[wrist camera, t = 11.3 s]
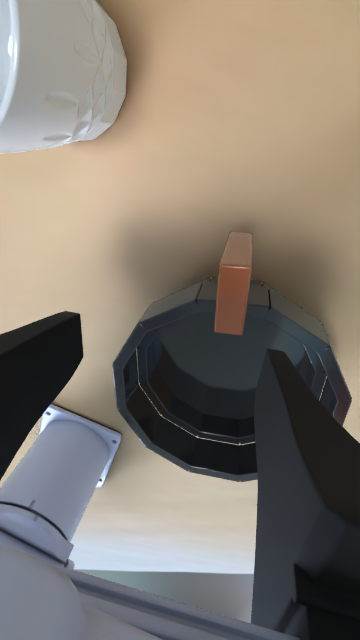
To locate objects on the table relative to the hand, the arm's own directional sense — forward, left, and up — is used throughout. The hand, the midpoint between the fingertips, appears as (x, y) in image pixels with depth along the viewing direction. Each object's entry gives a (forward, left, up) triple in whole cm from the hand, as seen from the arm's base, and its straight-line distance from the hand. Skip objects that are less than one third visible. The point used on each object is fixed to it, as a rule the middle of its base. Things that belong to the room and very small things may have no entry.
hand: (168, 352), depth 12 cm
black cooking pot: (-4, -4, -9) cm, 11 cm away
